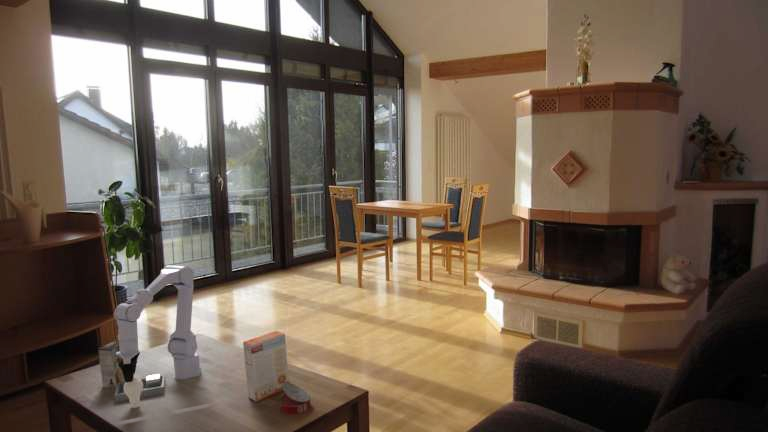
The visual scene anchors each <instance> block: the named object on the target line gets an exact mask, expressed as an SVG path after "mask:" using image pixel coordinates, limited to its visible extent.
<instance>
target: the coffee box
mask: <svg viewBox="0 0 768 432" xmlns="http://www.w3.org/2000/svg"><path fill="white" fill-rule="evenodd" d="M97 351H98V358H99V359H98V360H99V369H100V373H101V375H100V376H101V383H102V387H103V388H114V389H116V388H117V385H118V383H119V382H125V379H124V375H123V372H122V370H121V369H120V367H119V365H118V363H119V362H123V358H122V357H121V356H119V355H116V352H120V348H119V339H113V340H112V341H110V342H108V343H106V344H105V345H102V346H101V347H99V348H98V349H97Z"/></svg>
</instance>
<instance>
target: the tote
mask: <svg viewBox="0 0 768 432" xmlns="http://www.w3.org/2000/svg"><path fill="white" fill-rule="evenodd" d="M160 377H161V386H160V387H154V388H149V389H147V385H146V378H147V377H143V378H139V379H140V380H141V381H142V383H143V389H142V392H141V394H140V399H142V398H147V397H152V396H156V395H157V396H158V395H164V394H165V391H166V390H165V389H166V374H160ZM124 384H125V382H119V383H118V385H117V388H115V392H114V396H113V398H114V403H119V402H125V401H130V400H129V398H128V396H127V395H126V394H125V393H124V390H123V387H124Z"/></svg>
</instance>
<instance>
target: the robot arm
mask: <svg viewBox="0 0 768 432" xmlns="http://www.w3.org/2000/svg"><path fill="white" fill-rule="evenodd" d="M194 271H195V270H193V269H192V267H190V266H187V265H185V266H183V265H171V264H168V265H165V266H164V268H162V269H160V274H159V275H158V276H157V277H156V278H155V279H154V280H153V281H152V282H151V283H150V284H149V285H148V286H147V287H146V288H141V289H137V290H136V291H135V292H136V293H135V294H133V295H132V296H131V297H130V298H128V299H127V300H126V301H125V302H124V303H120V304H118V305H117V306H116V307H115V309H114V312H113V317H114V319H115V320H116V325H117V326H118V340H119V348H120V352H116V355H119V356H121V357H122V358H123V362H119V363H118V365H119V367H120V369H121V370H122V372H123V375H124V379H125V382H132V381H133V378H135V377H134V376H135V374H136V370H137V363H138V358H139V356H140V353H141V351H140V349H139V337H138V320H139V319H140V317H141V314H142V312H143V310H144V309H145V308H146V307H147V306H148V305H149V304H150V303H152V302H153V300H154V295H156V294H158V292H160V291H161V290H162V289H164V288H165V287H166V286H168V284H171V285H172V286H174V287H175V288H176V289H177V304H176V319H175V330H174V331H173V332H172V333H171V334H170V335H169V336H170V337H169V340H168V342H167V343H168V344H167V351H168V353H169V354H171V357H173V368H174V378H175V379H176V380H187V379H191V378H194V377H200V376H201V372H202V367H201V365H200V355H199V353H198V352H197V349H198V342H197V336H196V334H194V332H193V331H192V329H191V328H192V315H193V314H192V313H193V312H192V311H193V299H194V287H195V286H194V277H195V272H194Z"/></svg>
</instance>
